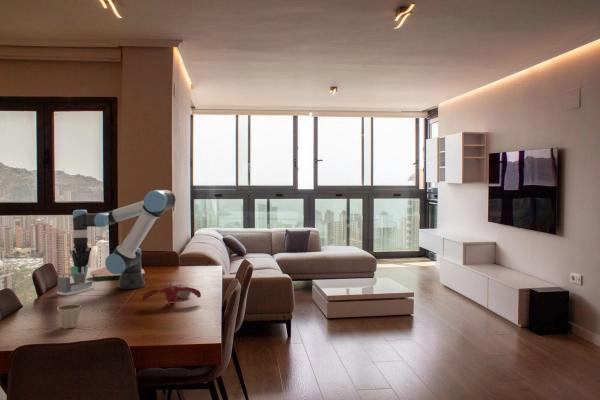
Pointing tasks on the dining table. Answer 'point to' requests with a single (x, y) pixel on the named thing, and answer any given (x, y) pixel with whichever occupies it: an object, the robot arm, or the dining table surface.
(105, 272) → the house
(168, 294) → the decorative bird sculpture
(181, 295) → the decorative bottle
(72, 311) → the flower pot
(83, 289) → the gauge housing
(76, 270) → the mug
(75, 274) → the purple-grey block
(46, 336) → the dining table surface
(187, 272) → the dining table surface
